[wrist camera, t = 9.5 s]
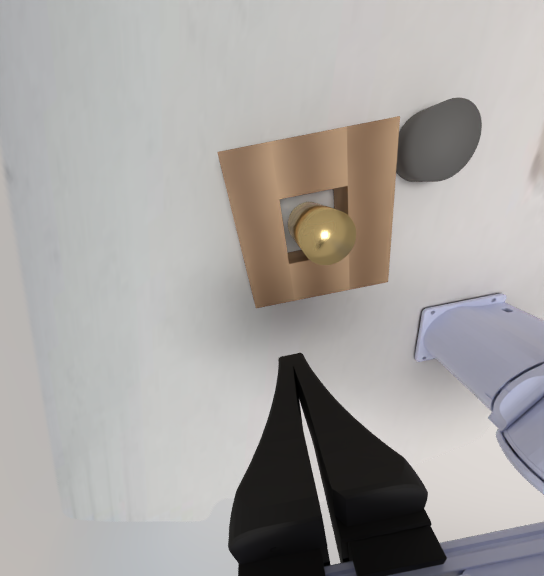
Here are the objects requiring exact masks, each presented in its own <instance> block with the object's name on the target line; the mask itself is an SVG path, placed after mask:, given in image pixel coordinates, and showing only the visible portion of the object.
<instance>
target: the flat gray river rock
mask: <svg viewBox="0 0 544 576" xmlns="http://www.w3.org/2000/svg"><path fill="white" fill-rule="evenodd" d="M481 126H482V123H481V116H480V113H479V110H478V109H477V107H476V106H475V104H474V103H472V102H471V101H470V100H467V99H464V98H452V99H449V100H446V101H444V102H441V103H439V104H437V105H434V106H432V107H429V108H427V109H425V110H422V111H420V112H418V113H416V114H415V115H413V116H412V117H411V118H410V119H409V120H408V121H407V122H406V123H405V124H404V125H403V127H402V128H401V130H400V131H399V137H398V151H397V164H396V172H397V173H398V175H399V176H400V177H402V178H403V179H405V180H407V181H411V182H435V181H442V180H445V179H448V178H450V177H452V176H453V175H455V174H456V173H458V172H459V171H460V170H461V169H462V168H463V167H464V166H465V165H466V164H467V163H468V161H469V160H470V158H471V157H472V155H473V154H474V152H475V150H476V148H477V145H478V142H479V139H480V135H481Z"/></svg>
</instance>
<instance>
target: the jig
mask: <svg viewBox="0 0 544 576" xmlns="http://www.w3.org/2000/svg"><path fill="white" fill-rule="evenodd" d="M399 123H400V116H398V117H393V118H388V119H383V120H378V121H373V122H368V123H363V124H358V125H353V126H347V127H342V128H337V129H332V130H327V131H322V132H317V133H312V134H307V135H302V136H297V137H292V138H287V139H281V140H276V141H271V142H266V143H261V144H256V145H251V146H246V147H241V148H236V149H231V150H226V151H221V152H218V156H219V160H220V165H221V169H222V173H223V177H224V181H225V185H226V189H227V193H228V197H229V201H230V205H231V209H232V213H233V217H234V221H235V225H236V229H237V233H238V237H239V242H240V246H241V250H242V254H243V258H244V262H245V266H246V270H247V274H248V278H249V282H250V286H251V290H252V294H253V298H254V302H255V306H256V308H260V307H265V306H270V305H275V304H280V303H285V302H290V301H295V300H300V299H305V298H310V297H315V296H320V295H325V294H330V293H335V292H340V291H345V290H350V289H355V288H360V287H365V286H370V285H375V284H380V283H385V282H388V275H389V261H390V247H391V233H392V220H393V206H394V192H395V178H396V164H397V151H398V137H399ZM329 189H334V209H336V210H339V211H342V212H344V213H346V214H347V215H348V216H350V218H351V219H352V220H353V222H354V224H355V227H356V240H355V244H354V246H353V248H352V250H351V251H350V253H349V254H348V255H347V256H346V257H345V258H344V259H342V260H341V261H339V262H337V263H335V264H332V265H319V264H316V263H314V262H312V261H311V260H309V259H308V258H307V256H306V255H305V254H304V252H303V251H302V250H299V251H294V252H289V253H287V247H286V240H285V233H284V227H283V220H282V213H281V207H280V200H279V199H283V198H289V197H294V196H299V195H304V194H309V193H314V192H319V191H324V190H329Z"/></svg>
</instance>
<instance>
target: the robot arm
mask: <svg viewBox="0 0 544 576" xmlns="http://www.w3.org/2000/svg"><path fill="white" fill-rule="evenodd" d="M505 300H506V295H505V294H502V293H500V294H495V295H490V296H485V297H480V298H475V299H470V300H465V301H460V302H455V303H450V304H445V305H440V306H435V307H430V308H426V309H424V310H423V311H422V316H421V322H420V328H419V334H418V341H417V347H416V353H415V360H416V361H418V362H420V361H425V360H430V359H435V358H436V359H437V360H438V361H439V362H440V363H441V364H442V365H443V366H444V367H445V368H446V369H447V370H448V371H450V372H451V373H452V374H453V375H454V376H455V377H456V378H457V379H458V380H459V381H460V382H461V383H462V384H463V385H464V386H465V387H466V388H468V389H469V390H470V391H471V392H472V393H473V394H474V395H475V396H476V397H477V398H478V399H479V400H480V401H481V402H482V403H483V404H484V405H486V406H487V407H488V408H489V409H490V410H491V411H492V413H491V415H490V416H489V417H488V419H489V420H491V421H492V422H493V423H494V424H495V425H496V426H497V427H498V428H499V429H497V432H496V437H497V440H498V443H499V445H500V447H501V448H502V451H503V452H504V454H505V456H506V457H507V459H508V460H509V461H510V463H511V464H512V465H513V466H514V467H515V468H516V470H517V471H518V472H519V473H520V474H521V475H522V476H523V477H524V478H525V479H526V480H527V481H528V482H529V483H530V484H532V485H533V486H534V487H535V488H536V489H537V490H539V491H540V492H541V493H542V494H543V495H544V320H542V319H539V318H537V317H535V316H533V315H531V314H529V313H527V312H525V311H522V310H520V309H518V308H516V307H514V306H512V305H510V304H507V303H505ZM299 400H300V403H301V406H302V409H303V412H304V415H305V419H306V422H307V425H308V428H309V431H310V434H311V438H312V441H313V445H314V449H315V453H316V457H317V461H318V466H319V470H320V474H321V479H322V483H323V487H324V492H325V496H326V500H327V505H328V508H329V513H330V518H331V522H332V527H333V531H334V535H335V540H336V544H337V549H338V553H339V558H340V562H341V563H340V564H335V565H330V560H329V554H328V549H327V542H326V536H325V531H324V525H323V519H322V514H321V510H320V505H319V500H318V495H317V491H316V486H315V482H314V477H313V473H312V468H311V464H310V459H309V455H308V450H307V446H306V441H305V437H304V432H303V426H302V418H301V410H300V403H299ZM427 496H428V492H427V490H426V488H425V486H424V484H423V483H422V481H421V480H420V478H419V477H418V475H417V474H416V472H415V471H414V470H413V468H412V467H411V466H410V464H409V463H408V462H407V461H406V459H405V458H404V457H402V456H401V455H400V454H398V453H397V452H396V451H394V450H393V449H391V448H390V447H389V446H387V445H386V444H385V443H383V442H382V441H381V440H380V439H378V438H377V437H376V436H375V435H373V434H372V433H371V432H370V431H369V430H368V429H366V428H365V427H364V426H363V425H362V424H361V423H360V422H358V421H357V420H356V419H355V418H354V417H353V416H352V415H351V414H350V413H349V412H348V411H347V410H346V409H344V407H343V406H342V405H341V404H340V403H339V402H338V401H337V400H336V399H335V398H334V397H333V396H332V395H331V394H330V392H329V391H328V390H327V389H326V388H325V386H324V385H323V384H322V383H321V381H320V380H319V379H318V377H317V376H316V375H315V373H314V372H313V371H312V369H311V368H310V366H309V365H308V363H307V361H306V359H305V358H304V356H303V354H302V353H297V354H292V355H287V356H282V357H280V358H279V369H278V378H277V384H276V390H275V394H274V398H273V403H272V407H271V410H270V414H269V417H268V420H267V423H266V426H265V429H264V431H263V434H262V437H261V440H260V442H259V445H258V447H257V449H256V451H255V454H254V456H253V458H252V461H251V463H250V465H249V467H248V469H247V471H246V473H245V475H244V477H243V479H242V481H241V483H240V485H239V487H238V489H237V491H236V494H235V498H234V503H233V507H232V512H231V518H230V526H229V543H228V547H229V551H230V552H231V554H232V555H233V556H234V558H235V559H236V560H237V562H238V563H239V568H238V570H239V571H238V576H544V522H540V523H535V524H530V525H525V526H520V527H515V528H511V529H506V530H501V531H496V532H491V533H487V534H482V535H477V536H471V537H466V538H462V539H457V540H452V541H447V542H442V543H439V542H438V540H437V538H436V536H435V534H434V532H433V530H432V528H431V521H430V519H429V517H428V515H427V513H426V511H425V510H424V507H425V504H426V501H427Z"/></svg>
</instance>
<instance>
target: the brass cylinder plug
mask: <svg viewBox="0 0 544 576" xmlns="http://www.w3.org/2000/svg"><path fill="white" fill-rule="evenodd" d="M288 229H289V232H290V234H291V236H292V237H293V239H294V240H295V241H296V243H297V244H298V246H299V247H300V248H301V250H302V251H303V252H304V254H305V255H306V256H307V258H308V259H309V260H311V261H312V262H314V263H316V264H319V265H332V264H335V263H337V262H339V261H341V260H342V259H344V258H345V257H346V256H347V255H348V254H349V253H350V251H351V250H352V248H353V246H354V244H355V240H356V227H355V224H354V222H353V220H352V219H351V218H350V216H348V215H347V214H346V213H344V212H342V211H339V210H336V209H333V208H330V207H327V206H324V205H320V204H317V203H314V202H305V203H302V204H300V205H298V206H297V207H296V208H295V209H294V210H293V211H292V212H291V214H290V216H289V219H288Z"/></svg>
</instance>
